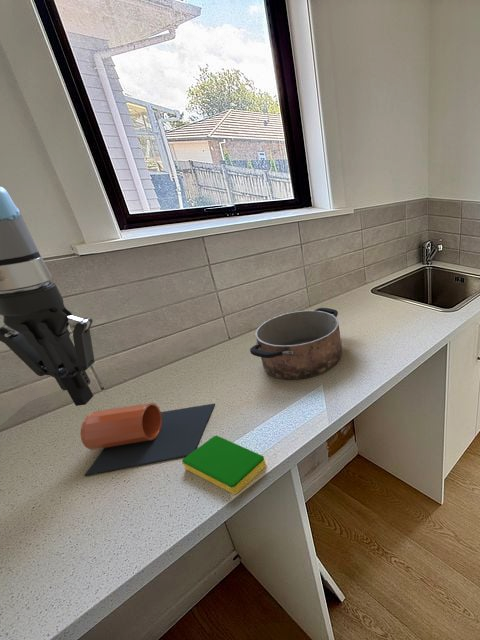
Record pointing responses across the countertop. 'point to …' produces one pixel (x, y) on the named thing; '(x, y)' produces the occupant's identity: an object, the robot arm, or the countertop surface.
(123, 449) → the mat
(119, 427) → the cup
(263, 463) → the dish sponge
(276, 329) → the cooking pot
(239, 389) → the countertop surface
